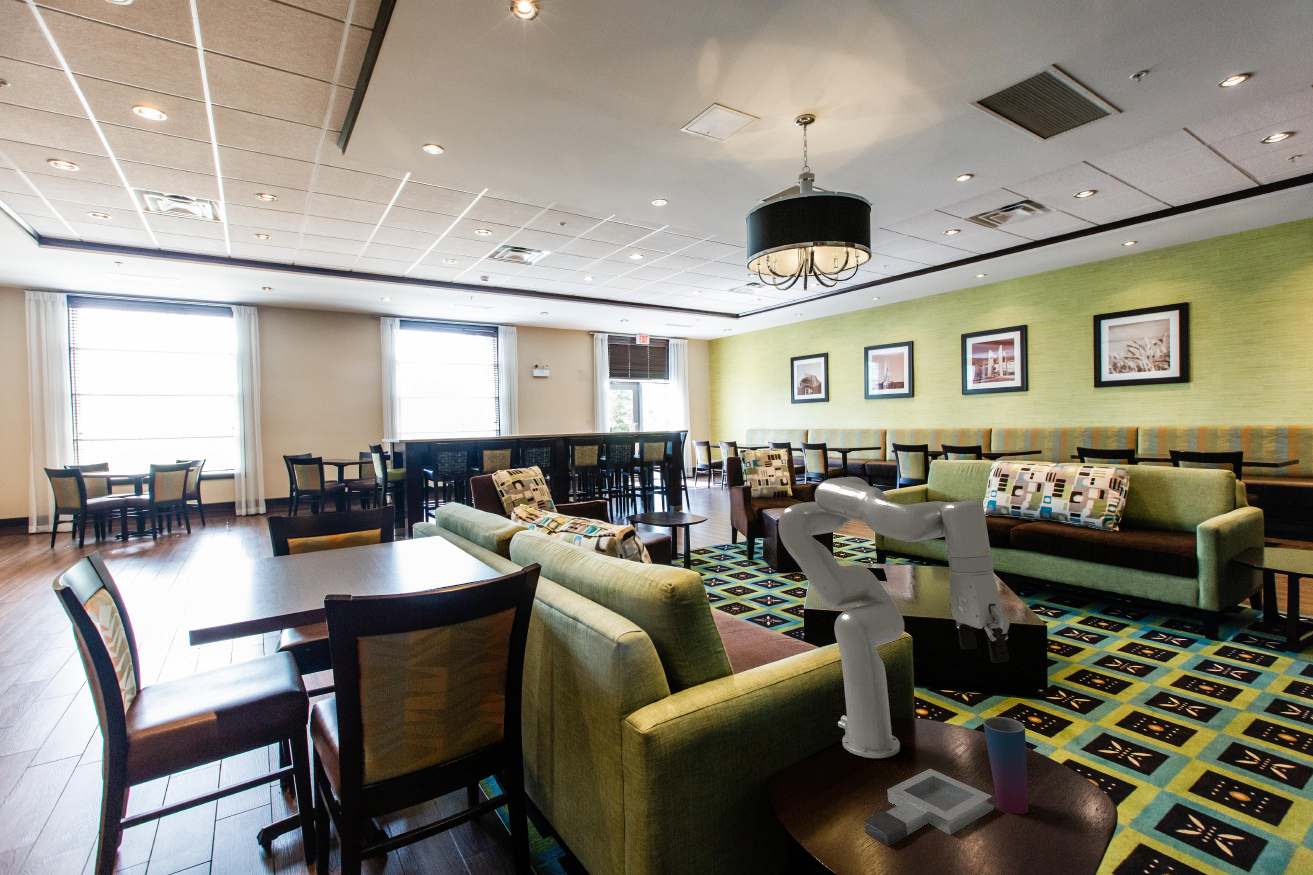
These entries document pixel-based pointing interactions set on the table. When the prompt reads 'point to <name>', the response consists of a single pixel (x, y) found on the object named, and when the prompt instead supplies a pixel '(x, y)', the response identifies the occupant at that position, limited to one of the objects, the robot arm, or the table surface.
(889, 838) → the holder
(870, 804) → the table surface
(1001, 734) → the cup
